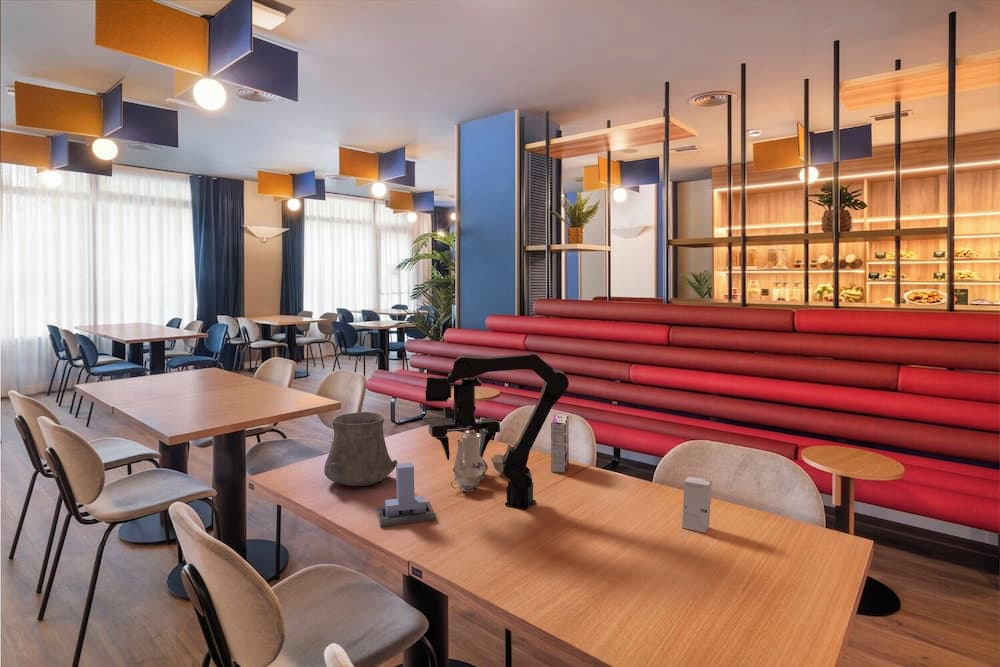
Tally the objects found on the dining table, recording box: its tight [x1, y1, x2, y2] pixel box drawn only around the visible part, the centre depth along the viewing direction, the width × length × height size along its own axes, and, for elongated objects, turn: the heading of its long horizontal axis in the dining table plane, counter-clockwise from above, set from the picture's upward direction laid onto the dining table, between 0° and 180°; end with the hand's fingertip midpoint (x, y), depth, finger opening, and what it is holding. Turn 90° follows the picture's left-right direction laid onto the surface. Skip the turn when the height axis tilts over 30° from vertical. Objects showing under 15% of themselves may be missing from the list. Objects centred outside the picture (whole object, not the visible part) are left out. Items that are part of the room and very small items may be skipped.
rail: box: [376, 501, 436, 528], centre depth 154 cm, size 14×8×2 cm, turn 107°
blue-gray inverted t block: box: [384, 461, 427, 517], centre depth 153 cm, size 10×4×14 cm, turn 107°
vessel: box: [323, 411, 399, 487], centre depth 180 cm, size 22×22×20 cm
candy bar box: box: [550, 414, 570, 474], centre depth 193 cm, size 11×5×16 cm, turn 168°
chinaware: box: [450, 430, 505, 492], centre depth 182 cm, size 28×17×17 cm, turn 148°
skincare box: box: [681, 475, 713, 533], centre depth 147 cm, size 6×4×12 cm
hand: (464, 458), depth 162 cm, fingers open, 9 cm apart
